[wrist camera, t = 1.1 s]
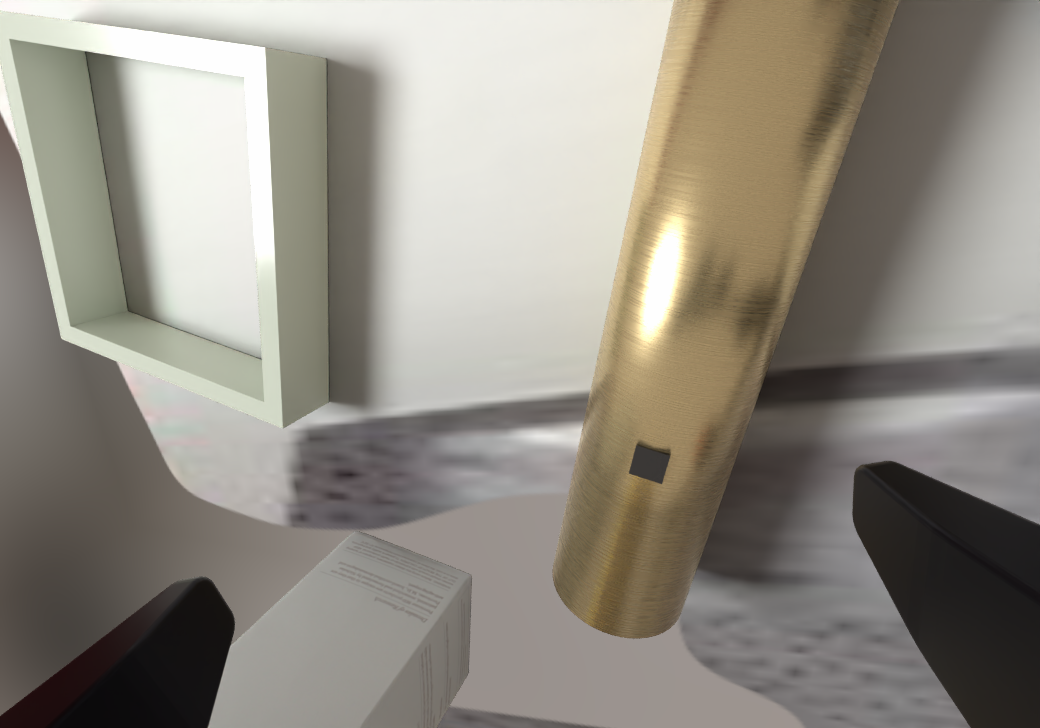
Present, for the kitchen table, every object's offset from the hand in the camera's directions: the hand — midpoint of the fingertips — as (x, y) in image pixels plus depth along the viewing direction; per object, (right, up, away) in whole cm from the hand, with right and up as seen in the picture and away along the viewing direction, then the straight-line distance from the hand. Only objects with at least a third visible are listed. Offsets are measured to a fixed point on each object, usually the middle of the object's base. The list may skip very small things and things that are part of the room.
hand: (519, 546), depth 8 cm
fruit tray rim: (-15, +10, +19) cm, 26 cm away
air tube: (+6, +5, +11) cm, 14 cm away
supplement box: (-6, -10, +23) cm, 26 cm away
